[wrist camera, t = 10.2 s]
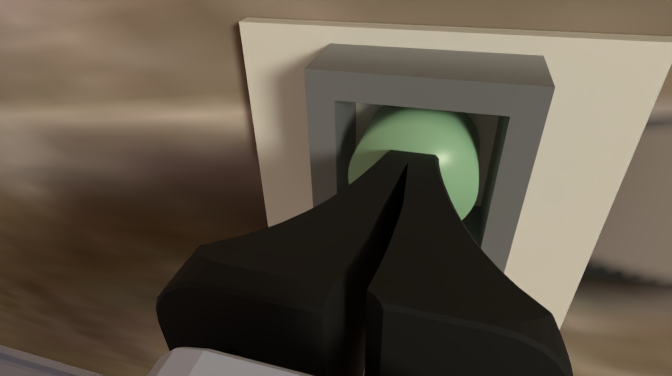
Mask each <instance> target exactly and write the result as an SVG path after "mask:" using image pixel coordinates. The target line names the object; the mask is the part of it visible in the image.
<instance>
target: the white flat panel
mask: <svg viewBox="0 0 672 376" xmlns="http://www.w3.org/2000/svg"><path fill="white" fill-rule="evenodd" d="M239 26H240V33H241V40H242V47H243V54H244V61H245V68H246V75H247V82H248V89H249V96H250V103H251V110H252V117H253V124H254V131H255V138H256V145H257V152H258V159H259V166H260V173H261V180H262V187H263V194H264V201H265V208H266V215H267V222H268V227H270V226H273V225H276V224H279V223H281V222H283V221H286V220H288V219H290V218H292V217H295V216H297V215H299V214H301V213H304V212H306V211H308V210H310V209H312V208H313V198H312V182H311V167H310V151H309V136H308V121H307V105H306V90H305V75H304V68H305V67H306V66H307V65H308V64H310V63H311V62H312V61H313V60H314V59H315V58H316V57H317V56H318V55H319V54H320V53H321V52H322V51H323V50H324V49H325V48H326V47H327V46H328V45H329V44H331V43H334V44H351V45H369V46H386V47H403V48H420V49H438V50H455V51H472V52H489V53H507V54H524V55H541V56H544V58H545V61H546V63H547V66H548V69H549V72H550V74H551V77H552V80H553V83H554V85H555V90H554V94H553V97H552V101H551V104H550V108H549V112H548V115H547V119H546V123H545V126H544V130H543V133H542V137H541V141H540V144H539V148H538V152H537V155H536V159H535V163H534V166H533V170H532V173H531V177H530V181H529V184H528V188H527V192H526V195H525V199H524V202H523V206H522V210H521V213H520V217H519V221H518V224H517V228H516V231H515V235H514V239H513V242H512V246H511V250H510V253H509V257H508V260H507V264H506V268H505V271H504V274H505V275H506V276H507V277H508V278H509V279H510V280H511V281H513V282H514V283H515V284H516V285H517V286H518V287H519V288H520V289H522V290H523V291H524V292H526V293H527V294H528V295H529V296H531V297H532V298H533V299H535V300H536V301H537V302H538V303H540V304H541V305H542V306H544V307H545V308H546V309H547V310H549V311H550V312H551V313H552V314H553V316H554V318H555V321H556V323H557V326H558V328H559V330H560V327H561V325H562V323H563V320H564V318H565V316H566V313H567V311H568V308H569V306H570V304H571V301H572V299H573V297H574V294H575V292H576V289H577V287H578V285H579V282H580V280H581V278H582V275H583V273H584V270H585V268H586V266H587V263H588V261H589V259H590V256H591V254H592V251H593V249H594V246H595V244H596V242H597V240H598V237H599V235H600V232H601V230H602V227H603V225H604V223H605V220H606V218H607V215H608V213H609V211H610V209H611V206H612V204H613V201H614V199H615V197H616V194H617V192H618V190H619V187H620V185H621V182H622V180H623V178H624V175H625V173H626V170H627V168H628V166H629V163H630V161H631V159H632V156H633V154H634V152H635V149H636V147H637V144H638V142H639V140H640V137H641V135H642V133H643V130H644V128H645V125H646V123H647V121H648V118H649V116H650V114H651V111H652V109H653V106H654V104H655V102H656V99H657V97H658V95H659V92H660V90H661V87H662V85H663V83H664V80H665V78H666V75H667V73H668V71H669V68H670V66H671V64H672V37H671V36H648V35H626V34H604V33H582V32H559V31H537V30H515V29H493V28H470V27H448V26H426V25H403V24H381V23H359V22H337V21H314V20H292V19H270V18H245V19H243V20H241V21H239ZM382 106H384V105H378V104H367V103H356V148H357V146H358V144H359V142H360V140H361V138H362V136H363V134H364V132H365V130H366V128H367V126H368V125H369V123H370V121H371V119H372V117H373V116H374V115H375V113H376V112H377V111H378V110H379V109H380V108H381V107H382ZM467 115H468V116H469V117H470V119H471V120H472V121H473V123H474V125H475V127H476V130H477V132H478V137H479V145H480V152H479V188H478V195H477V198H476V201H475V203H474V206H481V202H482V197H483V192H484V188H485V183H486V178H487V173H488V168H489V163H490V159H491V154H492V149H493V144H494V139H495V135H496V130H497V125H498V120H499V116H498V115H487V114H476V113H467Z"/></svg>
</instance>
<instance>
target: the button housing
mask: <svg viewBox="0 0 672 376" xmlns="http://www.w3.org/2000/svg"><path fill="white" fill-rule="evenodd" d="M304 75H305V90H306V105H307V121H308V136H309V151H310V167H311V182H312V198H313V208H314V207H315V206H317V205H319V204H321V203H323V202H324V201H326V200H328V199H329V198H331V197H333V196H334V195H336V194H337V193H338V192H340V191H341V190H342V189H344V188H345V187H347V186H348V185H349V182H348V169H349V164H350V161H351V158H352V156H353V154H354V152H355V150H356V103H367V104H378V105H389V106H400V107H411V108H422V109H433V110H444V111H455V112H465V113H476V114H487V115H498V116H499V120H498V125H497V130H496V135H495V139H494V144H493V149H492V154H491V159H490V163H489V168H488V173H487V178H486V183H485V188H484V192H483V197H482V202H481V206H473V208H472V209H471V210H470V212H469V213H468V214H467V216H466V217H465V218H464V219H463V220H462V222H463V224H464V225H465V227H466V228H467V230H468V231H469V233H470V234H471V236H472V237H473V239H474V240H475V241H476V243H477V244H478V245H479V246H480V248H481V249H482V250H483V252H484V253H485V254H486V255H487V256H488V257H489V258H490V259H491V261H492V262H493V263H494V264H495V265H496V266H497V267H498V268H499V269H500V270H501V271H502V272H503V273H504V271H505V268H506V264H507V260H508V257H509V253H510V250H511V246H512V242H513V239H514V235H515V231H516V228H517V224H518V221H519V217H520V213H521V210H522V206H523V202H524V199H525V195H526V192H527V188H528V184H529V181H530V177H531V173H532V170H533V166H534V163H535V159H536V155H537V152H538V148H539V144H540V141H541V137H542V133H543V130H544V126H545V123H546V119H547V115H548V112H549V108H550V104H551V101H552V97H553V94H554V90H555V85H554V83H553V80H552V77H551V74H550V72H549V69H548V66H547V63H546V61H545V58H544V56H541V55H524V54H507V53H489V52H472V51H455V50H438V49H420V48H403V47H386V46H369V45H351V44H334V43H331V44H329V45H328V46H327V47H326V48H325V49H324V50H323V51H322V52H321V53H320V54H319V55H318V56H317V57H316V58H315V59H314V60H313V61H312V62H311V63H310V64H308V65H307V66H306V67H305V68H304Z"/></svg>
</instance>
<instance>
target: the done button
mask: <svg viewBox="0 0 672 376" xmlns="http://www.w3.org/2000/svg"><path fill="white" fill-rule="evenodd" d="M389 150H398V151H407V152H416V153H424V154H433V155H436V156H437V157H438V158H439V167H440V171H441V175H442V179H443V182H444V184H445V187H446V189H447V192H448V194H449V197H450V199H451V201H452V203H453V205H454V207H455V209H456V211H457V213H458V215H459V217H460V218H461V220H463V219H464V218H465V217H466V216H467V214H468V213H469V212H470V210H471V209H472V208H473V206H474V203H475V201H476V198H477V195H478V188H479V152H480V145H479V137H478V132H477V130H476V127H475V125H474V123H473V121H472V120H471V119H470V117H469V116H468V115H467V113H465V112H455V111H444V110H433V109H422V108H411V107H400V106H389V105H384V106H382V107H381V108H380V109H379V110H378V111H377V112H376V113H375V115H374V116H373V117H372V119H371V121H370V123H369V125H368V126H367V128H366V130H365V132H364V134H363V136H362V138H361V140H360V142H359V144H358V146H357V148H356V150H355V152H354V154H353V156H352V158H351V161H350V164H349V169H348V182H349V184H351V183H352V182H353V181H355V180H356V179H357V178H358V177H359V176H361V175H362V174H363V173H364V172H366V171H367V170H368V169H369V168H370V167H371V166H372V165H374V164H375V163H376V162H377V161H378V160H379V159H380V158H381V157H382V156H383V155H384V154H386V153H387V152H388V151H389Z"/></svg>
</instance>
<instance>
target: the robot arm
mask: <svg viewBox="0 0 672 376" xmlns="http://www.w3.org/2000/svg"><path fill="white" fill-rule="evenodd" d="M156 312H157V317H158V321H159V324H160V327H161V330H162V332H163V335H164V337H165V340H166V342H167V345H168V348H169V350H170V352H168V353H167V354H165V355H163V356H162V357H160V358H159V360H158V361H157V363H156V364H155V365H154V367H153V368H152V370H151V371H150V372H149V374H148V375H147V376H363V375H364V376H573V372H572V367H571V363H570V360H569V356H568V353H567V350H566V347H565V344H564V342H563V339H562V336H561V333H560V331H559V328H558V326H557V323H556V321H555V318H554V316H553V314H552V313H551V312H550V311H549V310H547V309H546V308H545V307H544V306H542V305H541V304H540V303H538V302H537V301H536V300H535V299H533V298H532V297H531V296H529V295H528V294H527V293H526V292H524V291H523V290H522V289H520V288H519V287H518V286H517V285H516V284H515V283H514V282H513V281H511V280H510V279H509V278H508V277H507V276H506V275H505V274H504V273H503V272H502V271H501V270H500V269H499V268H498V267H497V266H496V265H495V264H494V263H493V262H492V261H491V259H490V258H489V257H488V256H487V255H486V254H485V253H484V252H483V250H482V249H481V248H480V246H479V245H478V244H477V243H476V241H475V240H474V239H473V237H472V236H471V234H470V233H469V231H468V230H467V228H466V227H465V225H464V224H463V222H462V220H461V218H460V217H459V215H458V213H457V211H456V209H455V207H454V205H453V203H452V201H451V199H450V197H449V194H448V192H447V189H446V187H445V184H444V182H443V179H442V175H441V171H440V167H439V158H438V157H437V156H436V155H433V154H424V153H416V152H407V151H398V150H389V151H388V152H387V153H386V154H384V155H383V156H382V157H381V158H380V159H379V160H378V161H377V162H376V163H375V164H374V165H372V166H371V167H370V168H369V169H368V170H367V171H366V172H364V173H363V174H362V175H361V176H359V177H358V178H357V179H356V180H355V181H353V182H352V183H351V184H349V185H348V186H347V187H345V188H344V189H342V190H341V191H340V192H338V193H337V194H336V195H334V196H333V197H331V198H329V199H328V200H326V201H324V202H323V203H321V204H319V205H317V206H315V207H314V208H312V209H310V210H308V211H306V212H304V213H301V214H299V215H297V216H295V217H292V218H290V219H288V220H286V221H283V222H281V223H279V224H276V225H273V226H270V227H268V228H265V229H262V230H259V231H256V232H252V233H249V234H246V235H242V236H239V237H235V238H231V239H226V240H222V241H218V242H214V243H210V244H205V245H200V246H199V247H198V248H197V249H196V251H195V252H194V253H193V254H192V255H191V256H190V257H189V258H188V259H187V261H186V262H185V263H184V264H183V266H182V267H181V268H180V269H179V271H178V272H177V273H176V274H175V276H174V277H173V278H172V279H171V281H170V282H169V283H168V285H167V286H166V287H165V288H164V290H163V291H162V292H161V294H160V295H159V296H158V297H157V303H156ZM364 370H365V373H364ZM0 376H104V375H101V374H97V373H94V372H91V371H87V370H84V369H80V368H77V367H74V366H70V365H67V364H63V363H60V362H57V361H53V360H50V359H46V358H43V357H40V356H36V355H33V354H29V353H26V352H22V351H19V350H16V349H12V348H9V347H5V346H2V345H0Z"/></svg>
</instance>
